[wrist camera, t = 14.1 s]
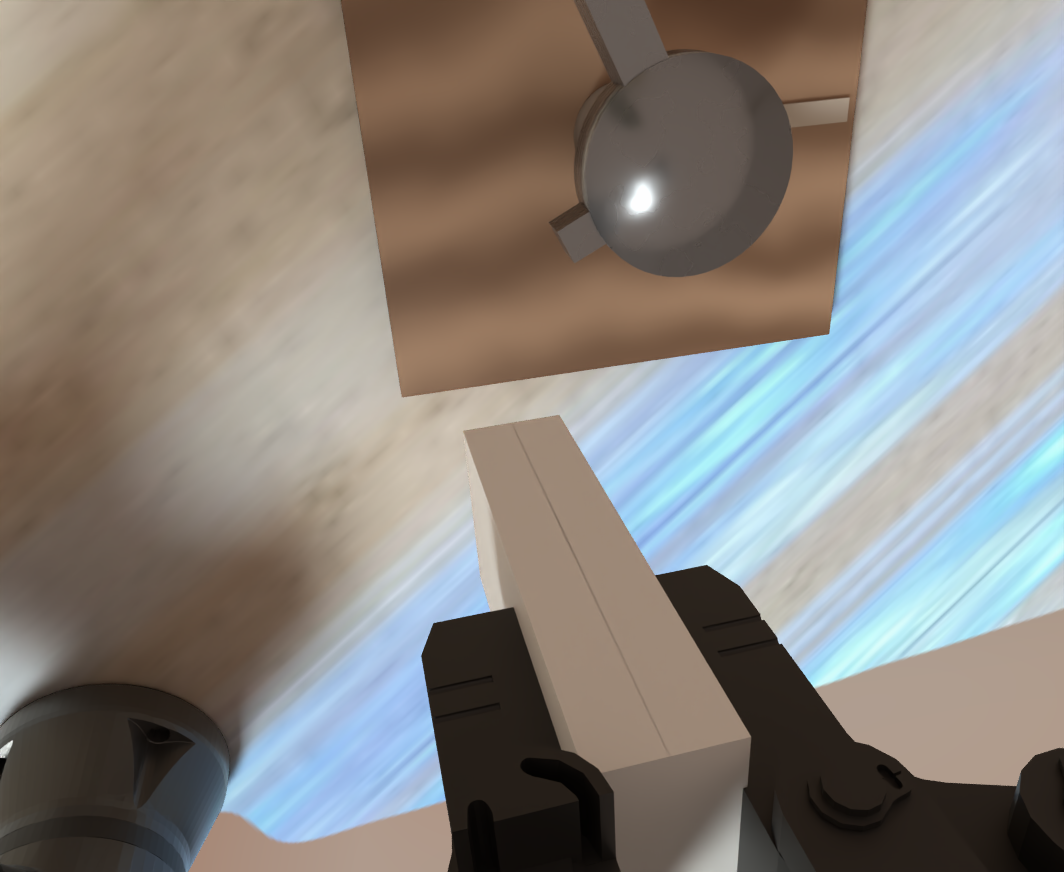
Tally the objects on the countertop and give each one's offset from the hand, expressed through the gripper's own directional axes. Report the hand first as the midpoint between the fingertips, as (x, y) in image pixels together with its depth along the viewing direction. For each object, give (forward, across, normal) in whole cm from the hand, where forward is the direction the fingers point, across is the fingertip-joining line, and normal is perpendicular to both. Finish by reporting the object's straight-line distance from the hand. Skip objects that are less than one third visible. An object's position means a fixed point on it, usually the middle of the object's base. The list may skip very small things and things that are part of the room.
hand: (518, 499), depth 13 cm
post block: (+34, -12, 0) cm, 36 cm away
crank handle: (+32, -10, -4) cm, 34 cm away
